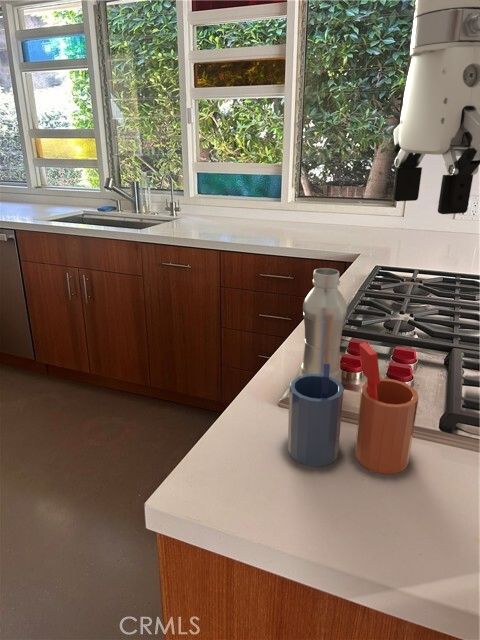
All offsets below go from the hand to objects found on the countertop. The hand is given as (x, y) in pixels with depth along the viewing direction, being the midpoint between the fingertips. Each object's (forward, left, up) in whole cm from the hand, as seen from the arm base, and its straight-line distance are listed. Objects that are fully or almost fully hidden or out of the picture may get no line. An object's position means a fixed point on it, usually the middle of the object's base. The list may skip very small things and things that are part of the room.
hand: (426, 206), depth 54 cm
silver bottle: (+8, -10, -31) cm, 33 cm away
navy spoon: (+13, +4, -30) cm, 33 cm away
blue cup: (+14, +4, -30) cm, 34 cm away
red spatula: (+6, +7, -30) cm, 31 cm away
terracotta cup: (+6, +7, -30) cm, 32 cm away
